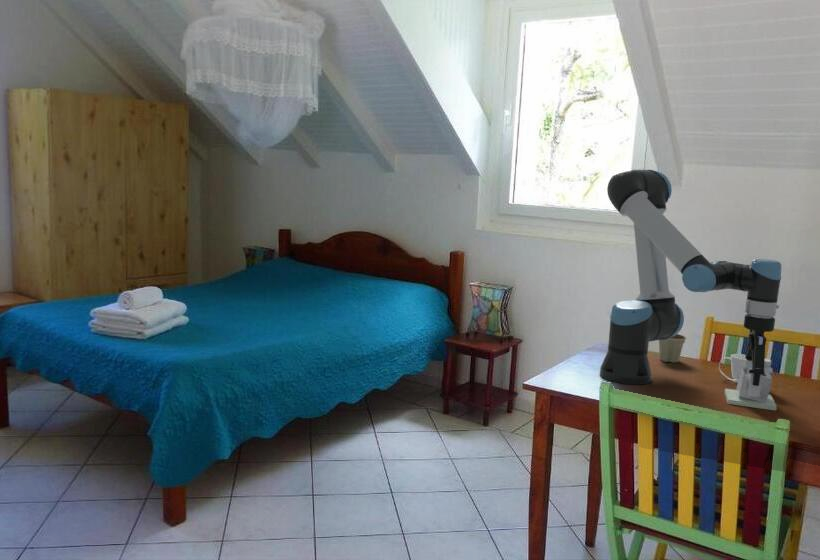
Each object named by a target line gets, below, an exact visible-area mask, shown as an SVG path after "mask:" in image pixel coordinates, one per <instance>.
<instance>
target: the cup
mask: <svg viewBox="0 0 820 560" xmlns="http://www.w3.org/2000/svg"><path fill="white" fill-rule="evenodd" d="M724 360H729V361H730V365H731V366H730V370H731V377H732V378H730V377H728V376H727V375H726V374H725V373H724V372H723V371H722V370H721V364H722V362H723V361H724ZM745 360H747V359H746V358H745V353H744V354H742V353H734V354H733V353H732V354H730V357H729V356H725V357H723V358H721V359H720V361H719V363H718V371H719V372H720V374H721V375H722V376H723V377H725V378H726V379H727V380H729V381H731V382H733V383H736V384H738V380H739V375H740V371H741V367H744V366H745Z"/></svg>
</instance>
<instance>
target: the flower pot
mask: <svg viewBox="0 0 820 560" xmlns="http://www.w3.org/2000/svg"><path fill="white" fill-rule="evenodd" d="M687 338H688V337H686V335H684V334H683V335H682V334H679V333H678V334H676V335H675V336H673V337H670V338H668V339H665V340H658V346H659V347H658V349H659V351H658V352H659V353H658V354H659V358H658V359H659V360H660V361H662V362H666V363H668V362H670V363H673V364H675V363H678V362H679V361H680V357H681V353H682V350H683V345H684V343H685V342H686V340H687Z"/></svg>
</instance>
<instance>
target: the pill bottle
mask: <svg viewBox="0 0 820 560" xmlns="http://www.w3.org/2000/svg"><path fill="white" fill-rule="evenodd" d="M771 365H772V360H771V359H769V358H765V361H764V371H765V372H769V374H770V376H771V378H772V379H773V372H774V370H773V368H772V367H771ZM756 369H759V368H756ZM770 391H771V389H770V390H769V393H771V392H770Z"/></svg>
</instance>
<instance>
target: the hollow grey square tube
mask: <svg viewBox="0 0 820 560" xmlns="http://www.w3.org/2000/svg"><path fill="white" fill-rule="evenodd" d="M750 375H751V373H749V372H748V368H746V367H741V371H740V375H739V380H738V383H736V384H737V385H736V388H735V390H736V391H737V393H738V396H739V397H743V398H747V399H751V400H756V401H760V402H764V403H766V401H767V397H768V394H770V392H769V390H770V391H771V384H772V381H773V377H772V378H771V376H770V374H769V372H765V371H764V374H762V380H761V388H760V395H759V397H754V396H748V391H749V383H750Z"/></svg>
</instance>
